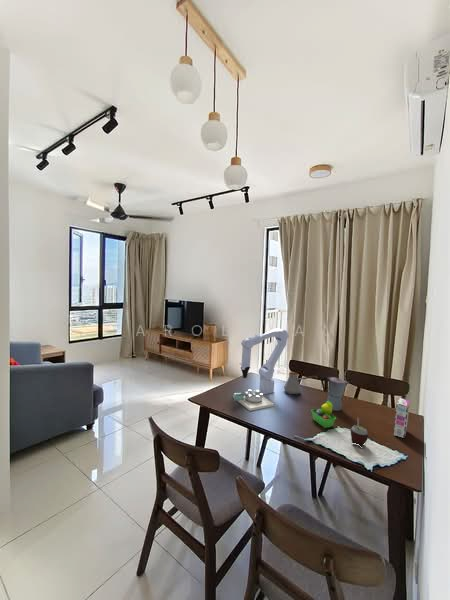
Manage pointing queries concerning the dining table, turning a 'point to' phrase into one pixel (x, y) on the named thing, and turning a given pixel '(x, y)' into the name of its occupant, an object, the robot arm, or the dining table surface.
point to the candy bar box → (401, 417)
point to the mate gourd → (359, 434)
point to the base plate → (256, 404)
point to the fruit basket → (324, 415)
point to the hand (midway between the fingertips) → (244, 377)
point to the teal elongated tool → (249, 396)
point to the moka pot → (335, 391)
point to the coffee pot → (294, 383)
